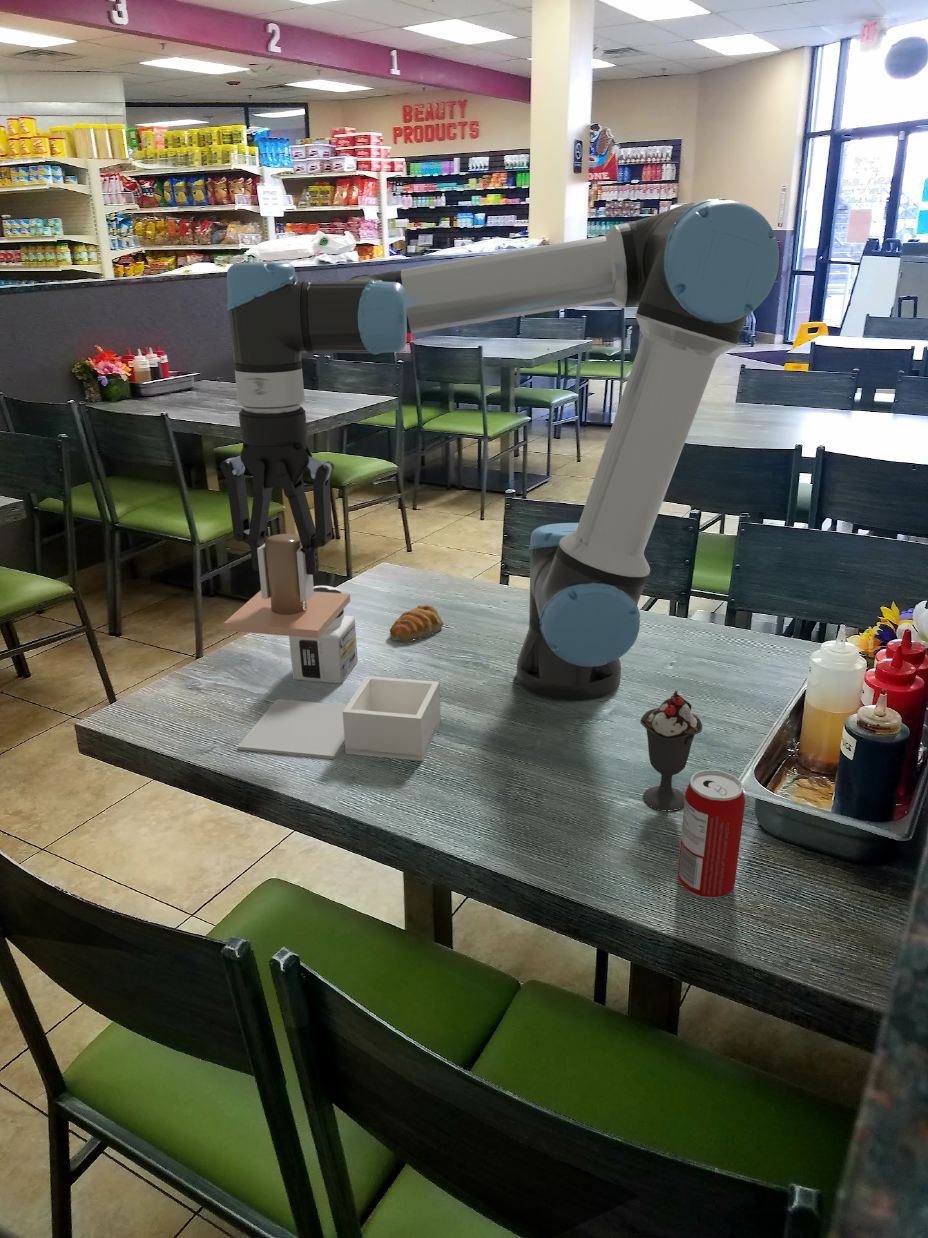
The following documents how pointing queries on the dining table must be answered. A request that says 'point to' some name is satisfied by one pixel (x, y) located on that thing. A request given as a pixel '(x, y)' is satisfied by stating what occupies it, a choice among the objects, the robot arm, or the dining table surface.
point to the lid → (286, 598)
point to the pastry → (416, 624)
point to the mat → (298, 729)
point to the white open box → (392, 718)
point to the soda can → (711, 833)
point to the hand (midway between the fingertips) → (288, 596)
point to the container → (326, 650)
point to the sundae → (669, 748)
